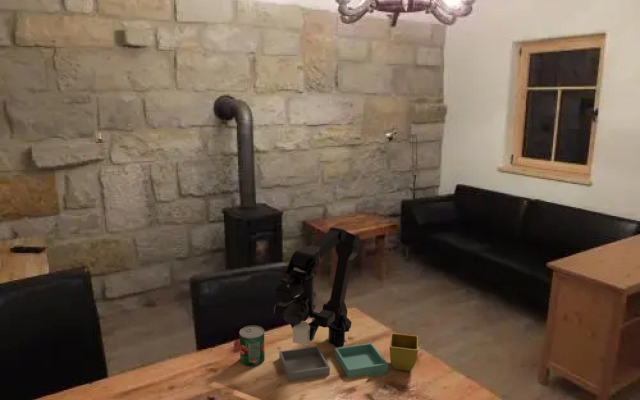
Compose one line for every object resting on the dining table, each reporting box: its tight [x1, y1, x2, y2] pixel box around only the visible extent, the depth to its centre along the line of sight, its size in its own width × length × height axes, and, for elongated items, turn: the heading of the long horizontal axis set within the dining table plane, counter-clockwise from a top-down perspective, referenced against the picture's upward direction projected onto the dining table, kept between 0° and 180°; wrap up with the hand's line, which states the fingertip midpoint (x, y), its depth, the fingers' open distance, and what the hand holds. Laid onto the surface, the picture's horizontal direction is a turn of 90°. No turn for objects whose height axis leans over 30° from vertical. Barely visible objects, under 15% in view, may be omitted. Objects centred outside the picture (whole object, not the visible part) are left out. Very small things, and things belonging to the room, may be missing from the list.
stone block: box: [292, 321, 316, 347], centre depth 146 cm, size 5×5×5 cm
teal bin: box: [334, 342, 389, 378], centre depth 150 cm, size 13×13×4 cm
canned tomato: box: [239, 325, 266, 368], centre depth 151 cm, size 8×8×11 cm
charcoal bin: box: [278, 345, 331, 382], centre depth 148 cm, size 13×13×4 cm
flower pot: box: [389, 332, 419, 372], centre depth 150 cm, size 9×9×9 cm
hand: (303, 338), depth 146 cm, fingers closed on stone block, 5 cm apart
